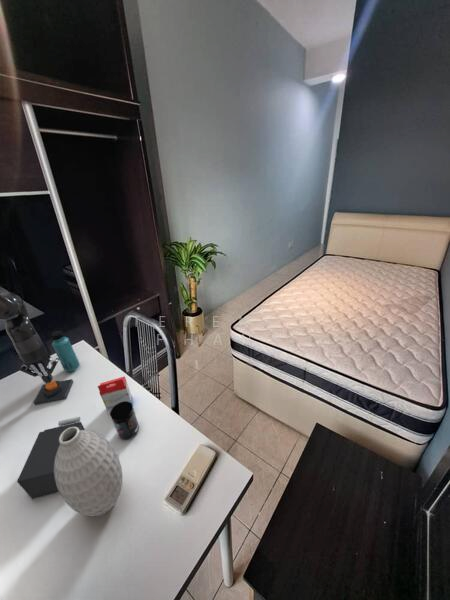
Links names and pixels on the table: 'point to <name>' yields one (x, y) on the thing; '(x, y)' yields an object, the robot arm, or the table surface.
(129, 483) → the table surface
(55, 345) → the beverage bottle
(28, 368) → the robot arm
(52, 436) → the cabinet
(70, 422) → the drawer
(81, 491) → the vase
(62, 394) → the block
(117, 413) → the supplement container
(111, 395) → the ink box
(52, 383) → the button
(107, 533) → the table surface
